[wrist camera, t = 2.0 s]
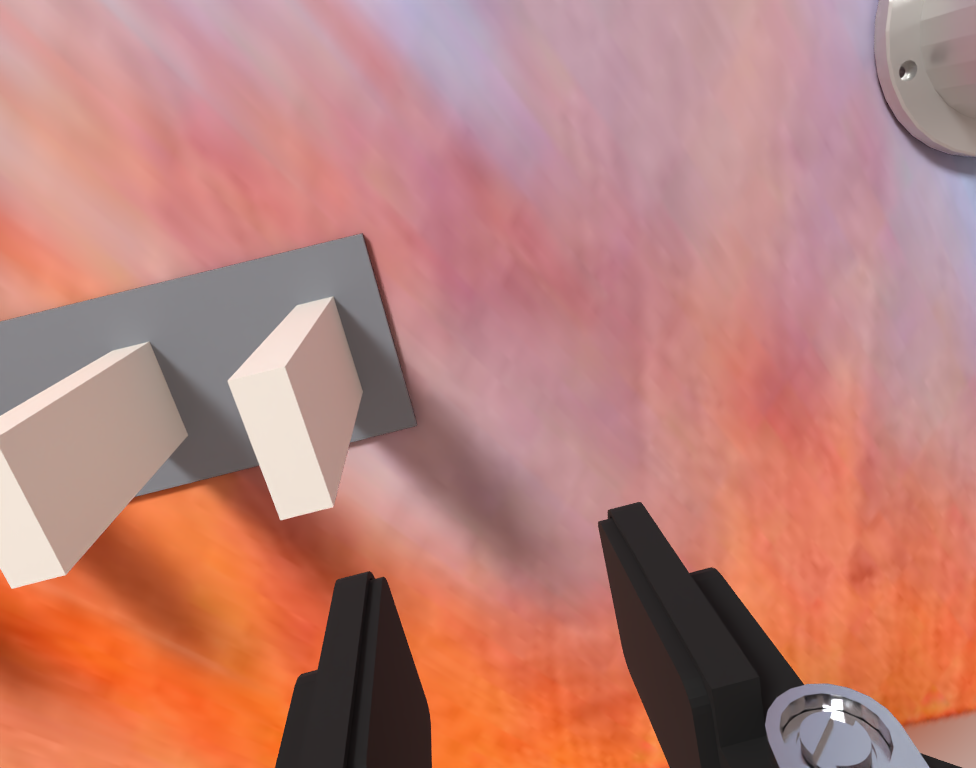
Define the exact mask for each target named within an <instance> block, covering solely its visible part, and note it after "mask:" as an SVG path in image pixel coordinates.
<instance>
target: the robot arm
mask: <svg viewBox="0 0 976 768" xmlns="http://www.w3.org/2000/svg"><path fill="white" fill-rule="evenodd" d="M874 53H875V60H876V67H877V74H878V78H879V81H880V84H881V87H882V90H883V93H884V96H885V99H886V101H887V103H888V104H889V106H890V108H891V109H892V111H893V113H894V115H895V116H896V118H897V120H898V121H899V122H900V123H901V124H902V125H903V126H904V127H905V128H906V129H907V130H908V131H909V132H910V134H911V135H912V136H914V137H915V138H917V139H918V140H920V141H921V142H923V143H924V144H926V145H927V146H929V147H931V148H933V149H936V150H939V151H942V152H945V153H947V154H950V155H958V156H968V157H976V0H879V2H878V7H877V12H876V18H875V34H874ZM598 527H599V533H600V538H601V543H602V548H603V553H604V558H605V563H606V568H607V573H608V578H609V583H610V588H611V593H612V598H613V603H614V609H615V614H616V619H617V624H618V629H619V634H620V639H621V644H622V649H623V653H624V657H625V660H626V663H627V666H628V669H629V672H630V674H631V677H632V679H633V681H634V684H635V686H636V688H637V691H638V693H639V696H640V698H641V700H642V703H643V705H644V707H645V710H646V712H647V715H648V717H649V719H650V722H651V724H652V726H653V729H654V731H655V733H656V736H657V738H658V741H659V743H660V745H661V748H662V750H663V752H664V755H665V757H666V759H667V762H668V764H669V767H670V768H961V767H958V766H955V765H953V764H950V763H947V762H944V761H941V760H938V759H936V758H933V757H930V756H927V755H924V754H921V753H920V752H919V751H918V750H917V748H916V746H915V745H914V744H913V742H912V740H911V739H910V737H909V736H908V734H907V733H906V731H905V730H904V728H903V727H902V725H901V724H900V723H899V722H898V721H897V719H896V718H895V717H894V716H893V715H892V714H891V713H890V712H889V710H888V709H886V708H885V707H884V706H882V705H881V704H879V703H878V702H876V701H875V700H873V699H872V698H871V697H869V696H867V695H864V694H862V693H860V692H857V691H855V690H852V689H850V688H846V687H842V686H837V685H832V684H806V685H804V684H803V683H802V681H801V680H800V679H799V677H798V676H797V675H796V673H795V672H794V671H793V669H792V668H791V667H790V665H789V664H788V663H787V661H786V660H785V659H784V657H783V656H782V655H781V653H780V652H779V651H778V649H777V648H776V647H775V645H774V644H773V643H772V641H771V640H770V639H769V637H768V636H767V635H766V633H765V632H764V631H763V629H762V628H761V627H760V625H759V624H758V623H757V622H756V620H755V619H754V618H753V616H752V615H751V614H750V612H749V611H748V610H747V608H746V607H745V606H744V604H743V603H742V602H741V600H740V599H739V598H738V596H737V595H736V594H735V592H734V591H733V590H732V588H731V587H730V586H729V584H728V583H727V582H726V580H725V579H724V578H723V576H722V575H721V574H720V573H719V572H718V571H717V570H716V569H715V568H712V567H711V568H707V569H703V570H699V571H696V572H692V573H689V572H688V571H687V569H686V568H685V566H684V565H683V563H682V562H681V560H680V559H679V557H678V556H677V554H676V553H675V551H674V550H673V548H672V547H671V545H670V544H669V543H668V541H667V540H666V538H665V537H664V535H663V534H662V532H661V531H660V529H659V528H658V526H657V525H656V523H655V522H654V520H653V519H652V517H651V516H650V514H649V513H648V511H647V510H646V508H645V507H644V506H643V504H642V503H641V502H637V503H633V504H629V505H626V506H622V507H618V508H614V509H610V510H608V519H607V520H603V521H599V522H598ZM275 768H432V756H431V721H430V714H429V708H428V704H427V700H426V697H425V694H424V691H423V688H422V685H421V682H420V679H419V676H418V673H417V670H416V667H415V664H414V661H413V658H412V655H411V652H410V649H409V646H408V643H407V640H406V637H405V634H404V631H403V627H402V624H401V621H400V618H399V615H398V612H397V609H396V606H395V603H394V600H393V597H392V594H391V591H390V588H389V585H388V583H387V580H386V578H385V577H381V578H377V579H375V578H374V576H373V574H372V573H371V572H370V571H369V572H365V573H361V574H357V575H353V576H349V577H345V578H341V579H338V580H336V583H335V587H334V592H333V597H332V602H331V607H330V612H329V616H328V621H327V626H326V631H325V636H324V641H323V646H322V651H321V656H320V661H319V666H318V670H315V671H311V672H308V673H304V674H301V675H300V676H299V677H298V679H297V681H296V684H295V687H294V692H293V696H292V700H291V704H290V708H289V712H288V716H287V721H286V725H285V729H284V733H283V737H282V741H281V746H280V750H279V754H278V758H277V762H276V766H275Z"/></svg>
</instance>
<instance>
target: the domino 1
mask: <svg viewBox="0 0 976 768" xmlns="http://www.w3.org/2000/svg"><path fill="white" fill-rule="evenodd" d="M187 436H188V434H187V431H186V429H185V426H184V424H183V422H182V419H181V417H180V414H179V412H178V409H177V407H176V405H175V402H174V400H173V397H172V395H171V393H170V390H169V388H168V385H167V383H166V381H165V378H164V376H163V373H162V371H161V368H160V366H159V364H158V361H157V359H156V356H155V354H154V352H153V349H152V347H151V344H150V342H146V343H142V344H137V345H133V346H129V347H125V348H121V349H117V350H113V351H111V352H109V353H107V354H106V355H104V356H102V357H101V358H99V359H97V360H95V361H94V362H92V363H90V364H89V365H87V366H85V367H83V368H82V369H80V370H78V371H77V372H75V373H73V374H71V375H70V376H68V377H66V378H64V379H63V380H61V381H59V382H58V383H56V384H54V385H52V386H51V387H49V388H47V389H46V390H44V391H42V392H40V393H39V394H37V395H35V396H34V397H32V398H30V399H28V400H27V401H25V402H23V403H22V404H20V405H18V406H16V407H15V408H13V409H11V410H9V411H8V412H6V413H4V414H3V415H1V416H0V569H1V570H2V572H3V574H4V576H5V578H6V579H7V581H8V583H9V585H10V587H11V588H16V587H20V586H24V585H28V584H32V583H36V582H40V581H44V580H48V579H52V578H56V577H60V576H64V575H66V574H67V573H68V572H69V571H70V570H71V569H72V567H73V566H74V565H75V564H76V563H77V562H78V561H79V559H80V558H81V557H82V556H83V555H84V554H85V553H86V551H87V550H88V549H89V548H90V547H91V546H92V545H93V543H94V542H95V541H96V540H97V539H98V538H99V537H100V535H101V534H102V533H103V532H104V531H105V530H106V529H107V527H108V526H109V525H110V524H111V523H112V522H113V521H114V519H115V518H116V517H117V516H118V515H119V514H120V513H121V511H122V510H123V509H124V508H125V507H126V506H127V505H128V503H129V502H130V501H131V500H132V499H133V498H134V497H135V495H136V494H137V493H138V492H139V491H140V490H141V489H142V487H143V486H144V485H145V484H146V483H147V482H148V481H149V480H150V478H151V477H152V476H153V475H154V474H155V473H156V472H157V470H158V469H159V468H160V467H161V466H162V465H163V464H164V462H165V461H166V460H167V459H168V458H169V457H170V456H171V454H172V453H173V452H174V451H175V450H176V449H177V448H178V446H179V445H180V444H181V443H182V442H183V441H184V440H185V438H186V437H187Z"/></svg>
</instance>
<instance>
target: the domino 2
mask: <svg viewBox="0 0 976 768" xmlns="http://www.w3.org/2000/svg"><path fill="white" fill-rule="evenodd" d="M228 384H229V387H230V389H231V392H232V395H233V397H234V400H235V402H236V405H237V408H238V410H239V413H240V416H241V418H242V421H243V423H244V426H245V429H246V431H247V434H248V437H249V439H250V442H251V444H252V447H253V450H254V452H255V455H256V458H257V460H258V463H259V465H260V468H261V471H262V473H263V476H264V479H265V481H266V484H267V486H268V489H269V492H270V494H271V497H272V500H273V502H274V505H275V507H276V510H277V513H278V515H279V518H280V520H284V519H288V518H292V517H296V516H300V515H304V514H308V513H312V512H315V511H319V510H323V509H327V508H331V507H334V503H335V499H336V495H337V491H338V488H339V484H340V480H341V476H342V472H343V468H344V464H345V460H346V456H347V452H348V448H349V444H350V440H351V436H352V432H353V428H354V425H355V421H356V417H357V413H358V409H359V405H360V401H361V397H362V393H363V391H362V387H361V384H360V381H359V378H358V375H357V371H356V368H355V365H354V362H353V358H352V355H351V352H350V349H349V346H348V342H347V339H346V336H345V333H344V329H343V326H342V323H341V320H340V317H339V313H338V310H337V307H336V304H335V300H334V297H329V298H324V299H320V300H316V301H312V302H308V303H304V304H300V305H297V306H296V307H295V308H294V309H293V310H292V311H291V312H290V313H289V314H288V315H287V316H286V317H285V319H284V320H283V321H282V322H281V323H280V324H279V325H278V326H277V327H276V328H275V329H274V331H273V332H272V333H271V334H270V335H269V336H268V337H267V338H266V339H265V340H264V341H263V343H262V344H261V345H260V346H259V347H258V348H257V349H256V350H255V351H254V352H253V353H252V355H251V356H250V357H249V358H248V359H247V360H246V361H245V362H244V363H243V364H242V365H241V367H240V368H239V369H238V370H237V371H236V372H235V373H234V374H233V375H232V376H231V377H230V379H229V380H228Z"/></svg>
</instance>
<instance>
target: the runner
mask: <svg viewBox="0 0 976 768" xmlns="http://www.w3.org/2000/svg"><path fill="white" fill-rule="evenodd" d="M329 297H334V300H335V304H336V307H337V310H338V313H339V317H340V320H341V323H342V326H343V329H344V333H345V336H346V339H347V342H348V346H349V349H350V352H351V355H352V358H353V362H354V365H355V368H356V371H357V375H358V378H359V381H360V384H361V387H362V391H363V393H362V397H361V401H360V405H359V409H358V413H357V417H356V421H355V425H354V428H353V432H352V436H351V440H350V443H351V442H355V441H358V440H362V439H366V438H370V437H374V436H378V435H382V434H386V433H390V432H394V431H398V430H402V429H406V428H410V427H414V426H417V422H416V419H415V415H414V412H413V408H412V405H411V401H410V398H409V394H408V391H407V387H406V384H405V380H404V377H403V373H402V370H401V366H400V363H399V359H398V356H397V352H396V349H395V345H394V342H393V338H392V335H391V331H390V328H389V324H388V321H387V317H386V314H385V310H384V307H383V303H382V300H381V296H380V293H379V289H378V286H377V282H376V279H375V275H374V272H373V268H372V265H371V261H370V258H369V254H368V251H367V247H366V244H365V240H364V237H363V233H362V234H358V235H353V236H349V237H345V238H341V239H337V240H333V241H329V242H325V243H321V244H317V245H312V246H308V247H304V248H300V249H296V250H292V251H288V252H284V253H280V254H276V255H271V256H267V257H263V258H259V259H255V260H251V261H247V262H243V263H239V264H234V265H230V266H226V267H222V268H218V269H214V270H210V271H206V272H202V273H198V274H193V275H189V276H185V277H181V278H177V279H173V280H169V281H165V282H161V283H157V284H152V285H148V286H144V287H140V288H136V289H132V290H128V291H124V292H120V293H116V294H111V295H107V296H103V297H99V298H95V299H91V300H87V301H83V302H79V303H75V304H70V305H66V306H62V307H58V308H54V309H50V310H46V311H42V312H38V313H34V314H29V315H25V316H21V317H17V318H13V319H9V320H5V321H1V322H0V416H1V415H3V414H4V413H6V412H8V411H9V410H11V409H13V408H15V407H16V406H18V405H20V404H22V403H23V402H25V401H27V400H28V399H30V398H32V397H34V396H35V395H37V394H39V393H40V392H42V391H44V390H46V389H47V388H49V387H51V386H52V385H54V384H56V383H58V382H59V381H61V380H63V379H64V378H66V377H68V376H70V375H71V374H73V373H75V372H77V371H78V370H80V369H82V368H83V367H85V366H87V365H89V364H90V363H92V362H94V361H95V360H97V359H99V358H101V357H102V356H104V355H106V354H107V353H109V352H111V351H113V350H117V349H121V348H125V347H129V346H133V345H137V344H142V343H146V342H150V344H151V347H152V349H153V352H154V354H155V356H156V359H157V361H158V364H159V366H160V368H161V371H162V373H163V376H164V378H165V381H166V383H167V385H168V388H169V390H170V393H171V395H172V397H173V400H174V402H175V405H176V407H177V409H178V412H179V414H180V417H181V419H182V422H183V424H184V426H185V429H186V431H187V434H188V436H187V437H186V438H185V440H184V441H183V442H182V443H181V444H180V445H179V446H178V448H177V449H176V450H175V451H174V452H173V453H172V454H171V456H170V457H169V458H168V459H167V460H166V461H165V462H164V464H163V465H162V466H161V467H160V468H159V469H158V470H157V472H156V473H155V474H154V475H153V476H152V477H151V478H150V480H149V481H148V482H147V483H146V484H145V485H144V486H143V487H142V489H141V490H140V491H139V492H138V493H137V494H136V495H135V497H136V496H140V495H144V494H148V493H152V492H156V491H160V490H164V489H168V488H172V487H176V486H180V485H184V484H188V483H192V482H196V481H200V480H204V479H208V478H212V477H215V476H219V475H223V474H227V473H231V472H235V471H239V470H243V469H247V468H251V467H255V466H259V463H258V460H257V458H256V455H255V452H254V450H253V447H252V444H251V442H250V439H249V437H248V434H247V431H246V429H245V426H244V423H243V421H242V418H241V416H240V413H239V410H238V408H237V405H236V402H235V400H234V397H233V395H232V392H231V389H230V387H229V384H228V380H229V379H230V377H231V376H232V375H233V374H234V373H235V372H236V371H237V370H238V369H239V368H240V367H241V365H242V364H243V363H244V362H245V361H246V360H247V359H248V358H249V357H250V356H251V355H252V353H253V352H254V351H255V350H256V349H257V348H258V347H259V346H260V345H261V344H262V343H263V341H264V340H265V339H266V338H267V337H268V336H269V335H270V334H271V333H272V332H273V331H274V329H275V328H276V327H277V326H278V325H279V324H280V323H281V322H282V321H283V320H284V319H285V317H286V316H287V315H288V314H289V313H290V312H291V311H292V310H293V309H294V308H295V307H296V306H297V305H300V304H304V303H308V302H312V301H316V300H320V299H324V298H329Z"/></svg>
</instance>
